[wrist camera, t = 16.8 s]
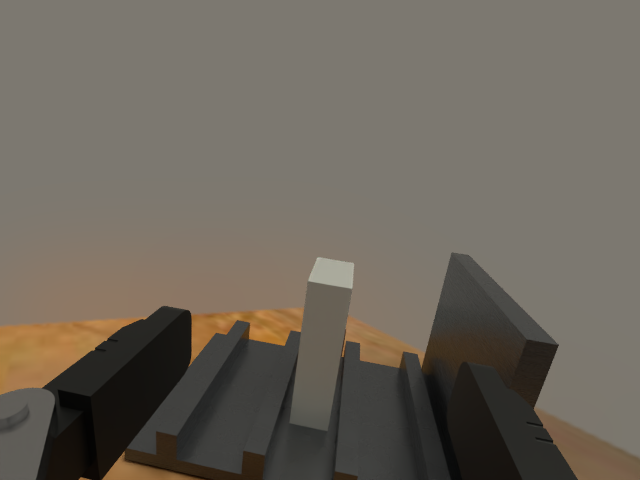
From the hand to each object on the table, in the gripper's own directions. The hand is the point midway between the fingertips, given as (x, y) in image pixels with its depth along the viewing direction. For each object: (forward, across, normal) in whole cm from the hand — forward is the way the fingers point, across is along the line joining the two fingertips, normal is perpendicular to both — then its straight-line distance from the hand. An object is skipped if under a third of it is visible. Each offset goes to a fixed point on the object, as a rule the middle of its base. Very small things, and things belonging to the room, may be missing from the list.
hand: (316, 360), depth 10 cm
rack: (+14, +1, +16) cm, 21 cm away
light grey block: (+14, +1, +15) cm, 20 cm away
